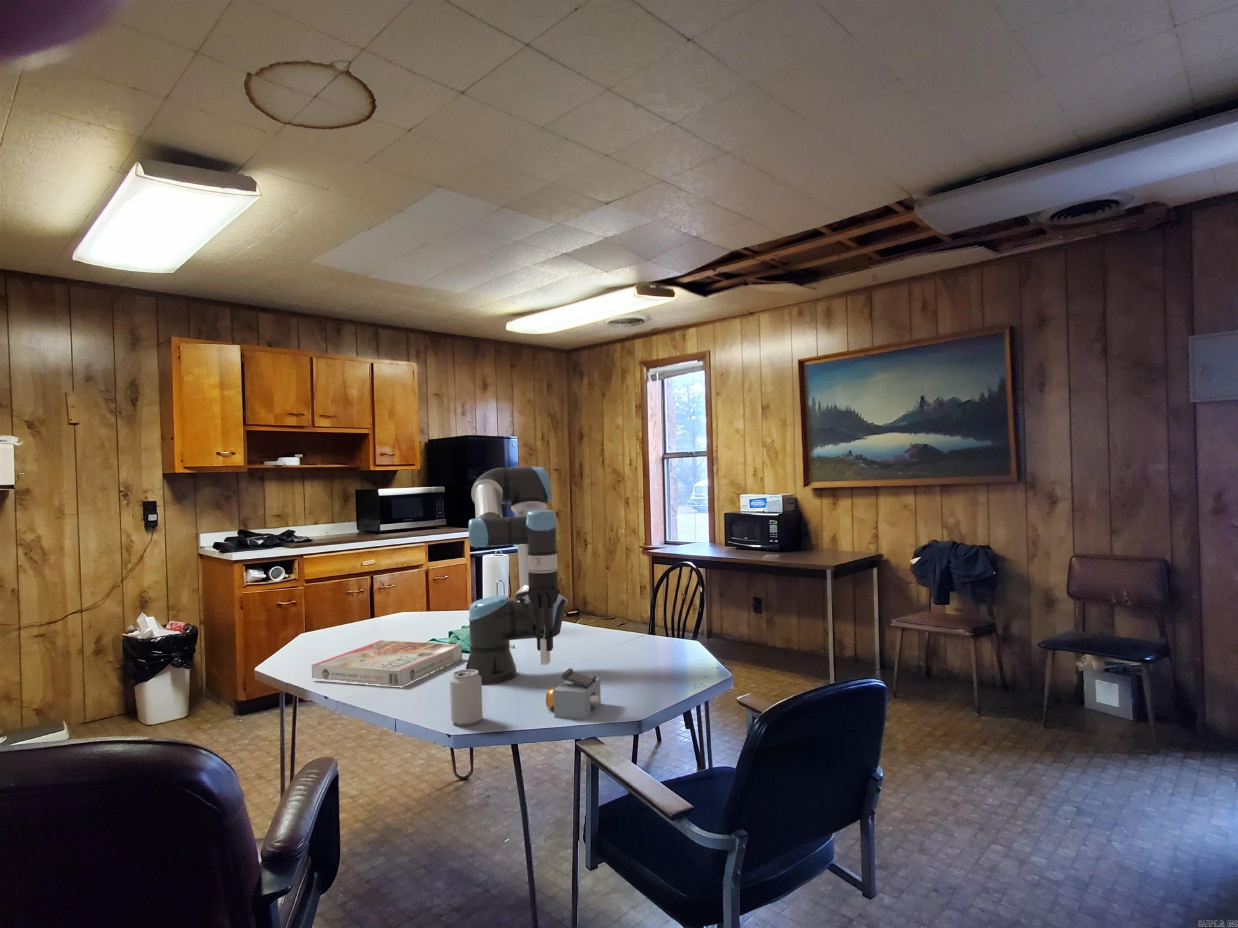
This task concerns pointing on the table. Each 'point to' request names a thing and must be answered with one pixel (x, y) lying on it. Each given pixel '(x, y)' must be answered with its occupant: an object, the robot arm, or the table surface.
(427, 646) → the pizza box
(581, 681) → the plate
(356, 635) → the table surface
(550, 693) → the pin
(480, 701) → the can
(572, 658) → the table surface
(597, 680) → the bracket
